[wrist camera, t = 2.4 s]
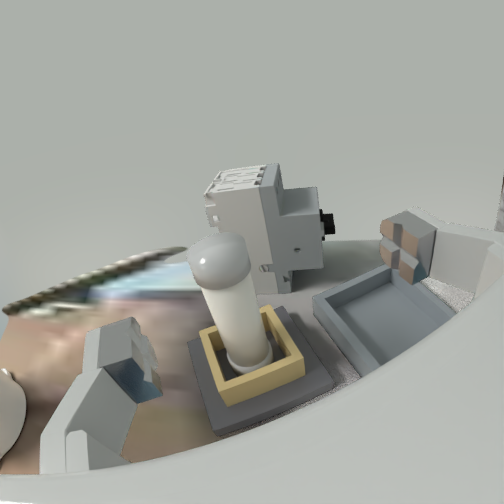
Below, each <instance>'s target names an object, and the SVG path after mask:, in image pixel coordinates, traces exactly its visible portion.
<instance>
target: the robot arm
mask: <svg viewBox="0 0 504 504" xmlns="http://www.w3.org/2000/svg"><path fill="white" fill-rule="evenodd" d="M380 233H381V234H382V235H383V238H382V240H381V242H380V254H381V257H382V260H383V261H384V262H385V264H386V265H387V266H388V267H390V268H392V269H396V270H398V272H399V276H401V277H402V278H403V279H404V280H406V281H407V282H408V283H409V284H410V285H414V284H416V283H418V282H419V281H421V280H423V279H425V278H427V277H428V276H429V278H432V279H435V280H438V281H441V282H444V283H446V284H449V285H452V286H455V287H457V288H460V289H463V290H466V291H468V292H471V293H474V297H473V299H472V302H471V303H470V304H469V305H467V306H466V307H465V308H464V309H462V310H461V311H460V312H459V313H457V314H456V315H455V316H454V317H452V318H451V319H450V320H448V321H447V322H446V323H444V324H443V325H442V326H440V327H439V328H438V329H436V330H435V331H433V332H432V333H431V334H429V335H428V336H426V337H425V338H424V339H422V340H421V341H419V342H418V343H416V344H415V345H413V346H412V347H410V348H409V349H407V350H406V351H404V352H403V353H401V354H400V355H398V356H397V357H395V358H393V359H392V360H390V361H389V362H387V363H385V364H384V365H382V366H381V367H379V368H377V369H376V370H374V371H372V372H370V373H369V374H367V375H365V376H364V377H362V378H360V379H358V380H356V381H355V382H353V383H351V384H349V385H347V386H345V387H344V388H342V389H340V390H338V391H336V392H334V393H332V394H330V395H328V396H326V397H324V398H322V399H320V400H318V401H316V402H314V403H312V404H310V405H308V406H306V407H303V408H301V409H299V410H297V411H295V412H292V413H290V414H288V415H286V416H283V417H281V418H279V419H276V420H274V421H271V422H269V423H266V424H264V425H261V426H259V427H256V428H254V429H251V430H248V431H246V432H243V433H240V434H237V435H235V436H232V437H229V438H226V439H223V440H220V441H217V442H214V443H211V444H208V445H204V446H201V447H198V448H194V449H191V450H187V451H184V452H180V453H176V454H172V455H168V456H164V457H160V458H156V459H151V460H147V461H142V462H137V463H131V462H129V461H127V460H126V459H124V458H123V457H121V456H120V454H121V451H122V448H123V445H124V442H125V439H126V437H127V434H128V431H129V428H130V425H131V423H132V420H133V417H134V414H135V412H136V409H137V406H138V405H137V404H139V403H142V402H145V401H148V400H151V399H154V398H157V397H160V396H163V393H162V387H161V381H160V377H159V376H158V374H157V373H156V372H155V370H156V369H157V367H158V363H157V358H156V355H155V352H154V349H153V347H152V345H151V343H150V341H149V339H148V338H147V336H144V335H142V334H141V331H140V325H139V324H138V322H137V321H136V319H135V318H133V317H129V318H126V319H123V320H120V321H117V322H114V323H111V324H108V325H105V326H102V327H99V328H97V329H94V330H91V331H88V332H87V334H86V338H85V347H84V357H83V369H82V374H79V375H78V376H77V377H76V379H75V380H74V382H73V383H72V385H71V386H70V388H69V390H68V391H67V393H66V394H65V396H64V398H63V399H62V401H61V402H60V404H59V406H58V407H57V409H56V410H55V412H54V414H53V415H52V417H51V419H50V420H49V422H48V424H47V425H46V427H45V429H44V430H43V432H42V434H41V438H40V474H23V475H21V474H0V504H504V233H503V232H498V231H493V230H488V229H483V228H477V227H472V226H466V225H461V224H454V223H449V224H447V223H445V222H444V221H442V220H440V219H439V218H437V217H435V216H433V215H431V214H430V213H428V212H426V211H424V210H422V209H421V208H419V207H412V208H410V209H407V210H405V211H403V212H402V213H399V214H397V215H395V216H392V217H390V218H387V219H385V220H383V221H382V223H381V225H380ZM25 414H26V398H25V394H24V391H23V389H22V388H21V386H20V385H19V384H17V383H16V382H15V381H13V380H12V377H11V374H10V372H9V371H7V370H6V369H5V368H4V369H0V459H1V458H2V456H3V455H4V454H5V453H6V452H7V451H8V450H9V449H10V448H11V447H12V446H13V444H14V443H15V441H16V440H17V438H18V436H19V434H20V432H21V429H22V427H23V423H24V419H25Z"/></svg>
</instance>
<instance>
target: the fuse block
mask: <svg viewBox="0 0 504 504" xmlns="http://www.w3.org/2000/svg"><path fill="white" fill-rule="evenodd" d="M259 309H260V313H261V317H262V321H263V325H264V329H265V333H266V336H267V339H268V340H269V342H270V344H271V348H272V352H273V356H274V363H272V364H270V365H267V366H265V367H262V368H260V369H257V370H255V371H252V372H250V373H247V374H245V375H242V376H239V377H238V376H237V375H236V374H235V373H234V371H233V369H232V367H231V365H230V363H229V360H228V358H227V351H226V348H225V346H224V344H223V341H222V339H221V336H220V334H219V332H218V329H217V327H216V325H214V326H212V327H209V328H206V329H203V330H201V331H199V334H200V338H197V339H195V340H192V341H189V342H187V344H188V348H189V351H190V355H191V359H192V363H193V366H194V370H195V373H196V377H197V380H198V384H199V387H200V391H201V394H202V397H203V401H204V404H205V407H206V410H207V414H208V417H209V420H210V423H211V426H212V429H213V431H214V433H215V434H216V435H217V436H221V435H224V434H227V433H230V432H233V431H235V430H238V429H241V428H244V427H247V426H249V425H252V424H255V423H257V422H260V421H262V420H265V419H267V418H270V417H272V416H275V415H277V414H279V413H282V412H284V411H286V410H289V409H291V408H293V407H296V406H298V405H300V404H302V403H304V402H307V401H309V400H311V399H313V398H315V397H317V396H319V395H321V394H323V393H325V392H327V391H329V390H331V389H333V387H334V381H333V379H332V378H331V376H330V375H329V373H328V372H327V370H326V369H325V367H324V366H323V364H322V363H321V361H320V360H319V358H318V357H317V355H316V354H315V353H314V351H313V350H312V348H311V347H310V345H309V344H308V342H307V341H306V339H305V338H304V336H303V335H302V333H301V332H300V330H299V329H298V327H297V326H296V324H295V323H294V322H293V320H292V319H291V317H290V316H289V314H288V313H287V311H286V310H285V308H284V307H283V306H281V307H278V308H276V309H273V308H272V307H271V305H270V304H269V305H266V306H264V307H261V308H259Z"/></svg>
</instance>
